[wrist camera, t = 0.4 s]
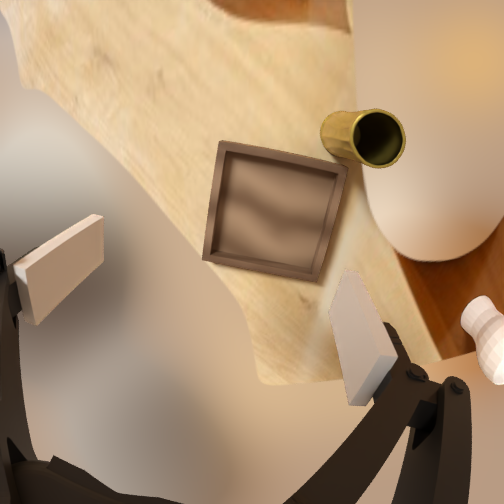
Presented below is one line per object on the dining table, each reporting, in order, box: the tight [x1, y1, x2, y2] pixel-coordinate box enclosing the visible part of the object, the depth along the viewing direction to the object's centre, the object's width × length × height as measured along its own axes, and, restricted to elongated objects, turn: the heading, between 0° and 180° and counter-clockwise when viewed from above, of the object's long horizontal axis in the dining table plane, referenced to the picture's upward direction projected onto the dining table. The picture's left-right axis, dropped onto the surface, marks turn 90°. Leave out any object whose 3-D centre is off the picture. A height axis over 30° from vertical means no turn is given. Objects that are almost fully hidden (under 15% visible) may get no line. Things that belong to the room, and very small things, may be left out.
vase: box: [320, 109, 406, 168], centre depth 29 cm, size 6×6×14 cm
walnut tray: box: [202, 140, 348, 282], centre depth 39 cm, size 16×16×2 cm
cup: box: [461, 296, 504, 385], centre depth 38 cm, size 11×11×15 cm
